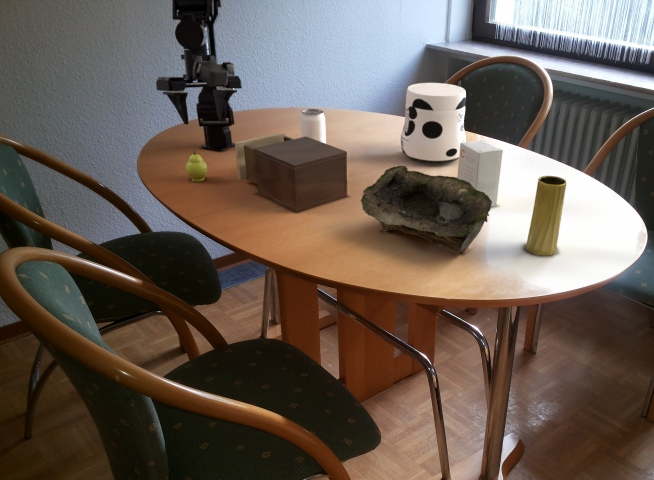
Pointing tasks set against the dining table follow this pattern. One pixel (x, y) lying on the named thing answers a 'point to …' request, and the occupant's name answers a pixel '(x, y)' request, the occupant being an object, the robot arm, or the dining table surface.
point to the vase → (546, 215)
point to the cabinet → (301, 173)
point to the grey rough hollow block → (428, 206)
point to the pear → (196, 167)
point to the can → (313, 124)
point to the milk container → (433, 122)
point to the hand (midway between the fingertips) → (204, 122)
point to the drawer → (253, 154)
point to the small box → (481, 167)
